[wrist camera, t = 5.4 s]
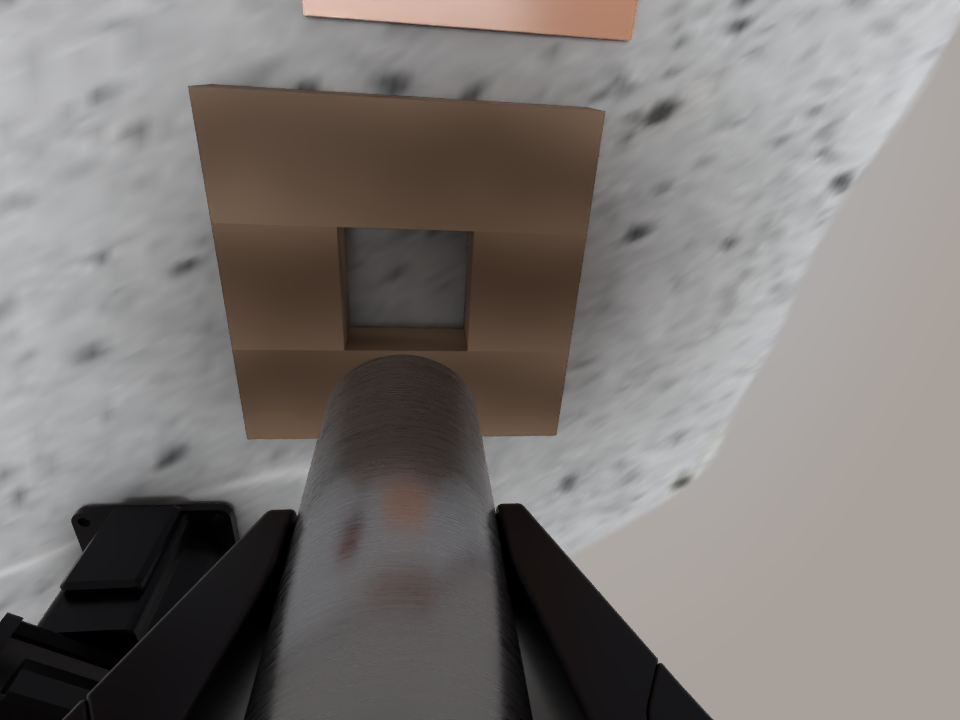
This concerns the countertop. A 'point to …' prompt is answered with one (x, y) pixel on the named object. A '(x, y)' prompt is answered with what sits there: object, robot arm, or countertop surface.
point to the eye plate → (395, 205)
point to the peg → (394, 564)
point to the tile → (493, 15)
